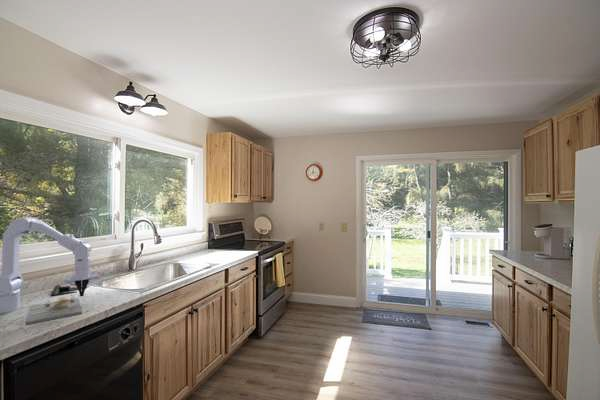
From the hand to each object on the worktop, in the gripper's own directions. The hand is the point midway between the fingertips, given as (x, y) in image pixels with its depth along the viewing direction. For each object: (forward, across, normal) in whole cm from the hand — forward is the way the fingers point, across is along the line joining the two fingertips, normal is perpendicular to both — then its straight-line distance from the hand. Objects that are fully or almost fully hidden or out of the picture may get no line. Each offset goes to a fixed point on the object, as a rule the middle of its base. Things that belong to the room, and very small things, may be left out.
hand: (81, 295), depth 135 cm
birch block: (+3, -8, 0) cm, 8 cm away
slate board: (+5, -10, -2) cm, 11 cm away
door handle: (+6, -4, +31) cm, 32 cm away
